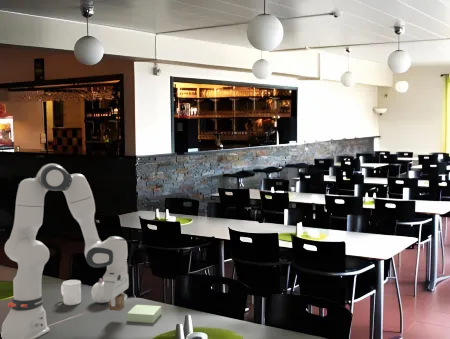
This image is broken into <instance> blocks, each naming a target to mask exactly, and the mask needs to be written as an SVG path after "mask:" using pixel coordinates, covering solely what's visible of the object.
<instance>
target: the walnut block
mask: <svg viewBox="0 0 450 339" xmlns="http://www.w3.org/2000/svg"><path fill="white" fill-rule="evenodd" d="M115 301H116V306H111V301H110V300H109V301H108V304H109V305H108V310H109V311H119V312H120V311H122V310H123V309H124V308H125V293H123V294H119V295H118V296H116V299H115Z"/></svg>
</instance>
